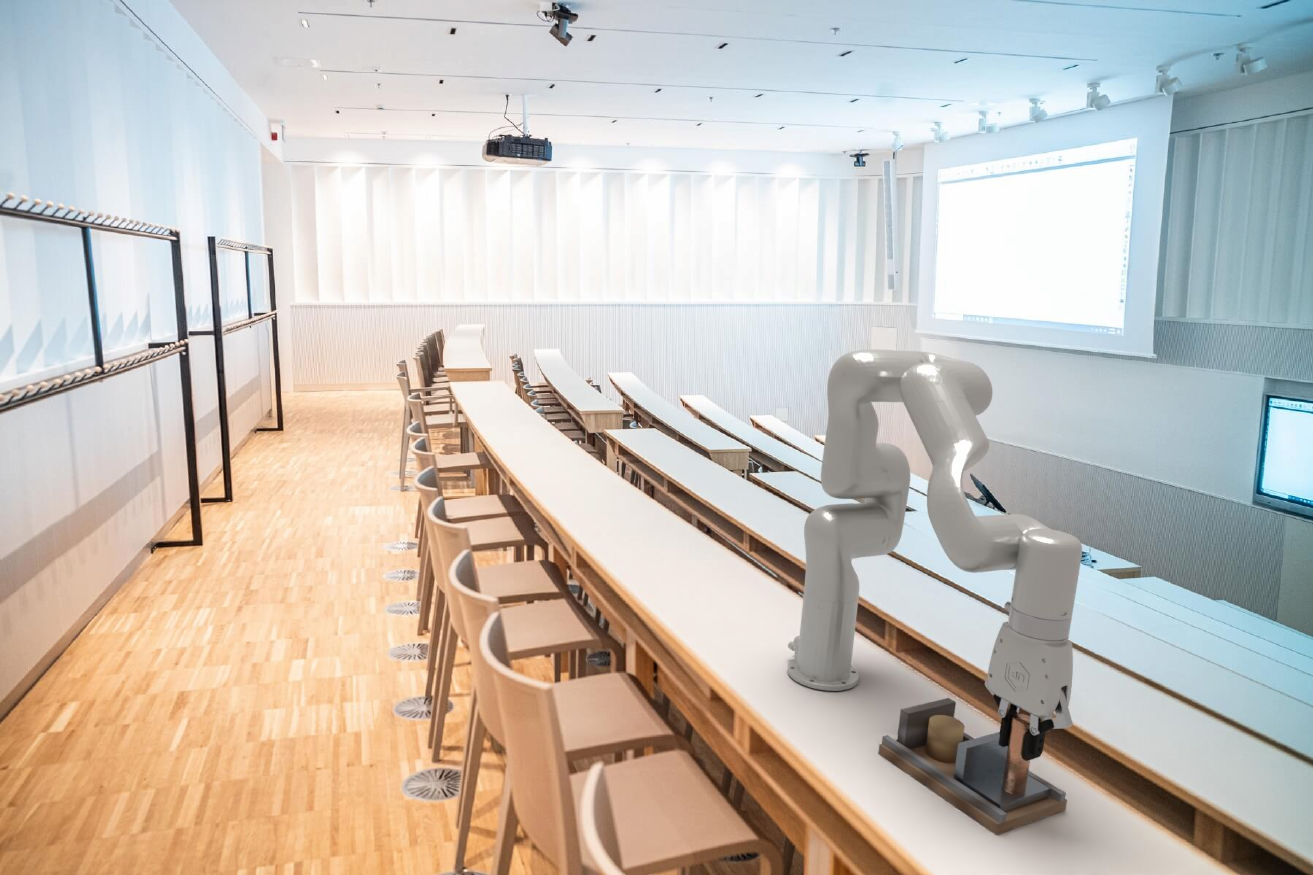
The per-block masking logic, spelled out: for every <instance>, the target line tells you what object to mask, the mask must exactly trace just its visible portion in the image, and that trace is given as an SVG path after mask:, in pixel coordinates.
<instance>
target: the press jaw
mask: <svg viewBox="0 0 1313 875" xmlns="http://www.w3.org/2000/svg"><path fill="white" fill-rule="evenodd" d="M1030 716H1031V715H1026V714H1024V713H1018V714H1014V715H1013V716H1012V722H1011V729H1010V736H1009V742H1008V746H1006V747H1002V746H1000V745H999V738H1000V731H998V732H993V733H990V734H987V735H983V736H980V737H976V738H975V737H974V738H975V739H972V740H968V741H964V742H961V743H958V750H957V757H956V765H955V772H954V779H955V780H957V781H958V782H960V783H961V784H963V785H964V786H966V787H967V788H969V789H970V790H972V791H974V792H975V793H977V794H978V795H980V796H981V797H983V798H984V799H986V800H987V801H989V802H990V803H992V804H993V805H995V806H996V807H998V808H999V809H1001V810H1002V811H1004V812H1005V811H1008V810H1011V809H1014V808H1017V807H1020V806H1023V805H1026V804H1029V803H1032V802H1034V801H1037V800H1040V799H1043V798H1046V797H1049V793H1050V788H1048V787H1047V786H1045V785H1043V784H1042V783H1040V782H1038V781H1037V780H1035V779H1033V778H1032V777H1030V776H1028V772H1029V771H1030V765H1031V760H1028V761H1025V760H1024V759H1022V750H1023V743H1024V737H1025V733H1026V732H1027V731H1030Z"/></svg>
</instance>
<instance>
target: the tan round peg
mask: <svg viewBox="0 0 1313 875" xmlns="http://www.w3.org/2000/svg"><path fill="white" fill-rule="evenodd" d="M964 733H965V724H964V723H963V722H962V721H961V720H960V719H958V718H956V717H954V718H953V717H950V716H946V715H934V716H932V717H930V719H929V726H928V734H927V741H926V749H925V752H926V754H927V755H928V756H929V757H930V758H932V759H934V760H936V761H939V762H944V763H955V762H956V757H957V750H958V743H961V742H963V735H964Z"/></svg>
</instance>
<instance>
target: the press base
mask: <svg viewBox="0 0 1313 875" xmlns="http://www.w3.org/2000/svg"><path fill="white" fill-rule="evenodd" d="M956 703H957V702H956V701H955V700H953V699H951V698H950V697H946V698H942V699H938V700H934V701H930V702H925V703H921V704H918V705H913V706H909V707H904V708H902V709H901V708H900V713H899V721H898V730H897V737H896V739H894V738H893V737H892V736H890V735H888V734H887V735H883V736H882V737H881V739H882V740H881V743H879V744H878V752H877V753H878V755H880V757H883V758H884V759H885V760H887V761H888V762H890V763H891V764H893V765H894V766H896V767H897V768H899V770H902V772H904V773H906V774H908V775H909V776H910V777H912V778H913V779H914V780H916V781H917V782H919V783H920V784H922V785H924V786H925V787H926V788H928V789H929V790H930V791H932V792H933V793H935V794H936V795H938V796H939V797H941V798H942V799H943V800H945V801H946V802H948V803H949V804H950V805H952V806H953V807H954V808H957V809H958V810H960V811H961V812H963V814H965V815H967V816H968V817H970V818H971V819H973V820H974V822H977V823H978V824H979V825H982V827H984V828H985V829H987V830H988V831H989V832H991V833H992V834H994V835H997V836H998V835H1000V834H1002V833H1005V832H1007V831H1011V830H1013V829H1017V828H1020V827H1021V826H1024V825H1027V824H1030V823H1033V822H1036V821H1038V820H1041V819H1045V818H1046V817H1049V816H1051V815H1055V814H1058V813H1061V812H1064V811H1066V808H1067V802H1068V800H1067V799H1066V796H1067V793H1066V792H1065V790H1062V789H1060V788H1059V787H1057V786H1055V785H1054V784H1052V783H1050V782H1049V781H1047V780H1045V779H1044V778H1042V777H1040V776H1039V775H1037V774H1035V773H1033V772H1032V771H1030V770H1029V772H1028V776H1030V777H1032V778H1033V779H1035V780H1037V781H1038V782H1040V783H1042V784H1043V785H1045V786H1047V787H1048V788H1050V793H1049V797H1046V798H1043V799H1040V800H1037V801H1034V802H1032V803H1029V804H1026V805H1023V806H1020V807H1017V808H1014V809H1011V810H1008V811H1005V812H1004V811H1002V810H1001V809H999V808H998V807H996V806H995V805H993V804H992V803H990V802H989V801H987V800H986V799H984V798H983V797H981V796H980V795H978V794H977V793H975V792H974V791H972V790H970V789H969V788H967V787H966V786H964V785H963V784H961V783H960V782H958V781H957V780H955V779H954V772H955V765H956V762H955V763H944V762H939V761H936V760H934V759H932V758H930V757H929V756H928V755H927V754H926V752H925V749H926V741H927V734H928V726H929V719H930V717H932V716H934V715H946V716H950V717H953V718H955V711H956V705H957V704H956ZM972 739H975V737H972V736H971V735H969V734H968V733H966V732H964V735H963V742H964V741H968V740H972Z"/></svg>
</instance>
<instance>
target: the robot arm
mask: <svg viewBox="0 0 1313 875" xmlns="http://www.w3.org/2000/svg"><path fill="white" fill-rule="evenodd" d="M826 389H827V390H826V393H827V394H826V395H827V408H828V409H827V410H828V412H827V414H828V415H827V416H828V417H827V425H826V431H825V438H824V446H823V447H824V448H823V454H822V462H821V468H820V469H821V470H820V483H821V487H822V489H823V491H824V492H825V493H826V494H827V495H828V496H829V497H832V498H834V499H838V500H839V499H840V500H852V499H853V500H858V499H865V502H861V503H860V502H858V503H856V502H855V503H853V502H851V503H850V502H849V503H835V504H828V505H824V506H819V507H817V508H816V509H814V510H812V511H811V512H810V513H809V515H808V516H807V517H806V519H805V523H804V526H803V529H804V530H803V537H804V545H805V546H804V547H805V548H804V549H805V576H804V578H805V579H804V586H803V587H804V588H803V598H802V607H801V608H802V609H801V619H800V629H799V635H797V636H795V638H794V639H793V641H789V642H788V644H787V648H789V649H790V650H791V651H793V652H794V658H793V659H791V660H790V661H789V662H788V664H787V670H786V671H787V674H788V675H789V677H790V678H791V679H792V680H794V681H795V682H796V683H798V684H800V685H802V686H805V687H808V688H812V689H815V690H820V691H827V692H828V691H829V692H830V691H831V692H841V691H846V690H849V689H852V688H854V687H855V686H857V685H858V684H859V677H860V675H859V672H858V671H857V669H856V668H855V667H853V665H852V660H853V650H854V644H855V642H854V641H855V633H856V632H855V631H856V625H857V615H858V607H859V606H858V605H859V597H860V580H859V576H858V574H857V572H856V570H855V568H854V566H853V564H852V560H853V559H854V560H855V559H860V558H867V557H868V558H869V557H877V556H879V557H880V556H884V555H887V554H890V553H892V552H893V551H894V550H895V549H896V548H897V547H898V545H899V543H900V541H901V538H902V534H903V528H904V525H905V524H904V523H905V517H906V512H907V510H906V509H907V505H908V499H909V498H908V497H909V493H910V492H909V491H910V484H911V468H910V463H909V460H908V458H907V456H906V454H905V453H904V452H903V450H902V449H901V448H900V447H898V446H896V444H892V443H885V442H879V443H878V442H877V439H878V438H877V437H878V432H879V427H880V426H879V418H878V415H877V412H876V410H875V407H874V404H873V403H903V405H904V407H905V409H906V411H907V414H908V415H909V418H910V420H911V422H912V424H913V426H914V428H915V431H916V432H917V434H918V436H919V439H920V441H921V443H922V445H923V448H924V450H925V452H926V453H927V456H928V457H929V459H930V462H931V464H932V470H931V473H930V476H929V480H928V483H927V490H926V507H927V515H928V518H929V521H930V524H931V527H932V529H933V531H934V533H935V535H936V538H937V541H938V542H939V544H940V546H941V547H942V549H943V551H944V553H945V554H946V556H947V558H948V559H949V560H950V562H952V564H953V565H954V566H956V567H957V568H958V569H960V570H962V571H963V572H967V573H975V574H976V573H985V572H986V573H987V572H993V571H995V572H996V571H1010V570H1011V571H1012V570H1013V571H1015V572H1014V580H1013V584H1012V594H1011V600H1010V601H1006V602H1005V604H1004V608H1003V609H1004V610H1005V611H1006V612H1008V614H1009V615H1008V621H1004V622H1003V623H1002V624H1001V626H1000V628H999V631H998V633H997V636H996V638H995V642H994V645H993V648H992V652H991V656H990V660H989V665H988V669H987V677H986V680H985V681H984V686H985V687H986V689H987V690H988V691H989V693H990V694H991V696H993V699H994V701H995V703H996V705H997V708H998V711H997V713H998V715H999V717H1000V718H1001V720H1000V728H999V732H1000V738H999V745H1000V746H1002V747H1006V746H1008V742H1009V736H1010V729H1011V722H1012V716H1013V715H1014V714H1019V712H1020V709H1021V710H1023V711H1025V712H1027V713H1028V714H1030V715H1029V716H1030V731H1027V732H1026V733H1025V737H1024V743H1023V750H1022V759H1024V760H1025V761H1028V760H1030V761H1031V760H1035V759H1038V758H1040V757H1041V756H1042V754H1043V752H1044V747H1045V738H1046V733H1047V732H1050V731H1053V730H1054V729H1056V730H1058V729H1067V728H1070V727H1072V726H1073V720H1072V716H1071V712H1070V710H1069V705H1070V700H1071V697H1072V696H1071V694H1072V685H1073V672H1074V671H1073V670H1074V658H1073V657H1074V656H1073V643H1072V641H1071V640H1070V639H1069V637H1070V633H1071V632H1070V630H1071V625H1072V620H1073V618H1072V617H1073V612H1074V607H1075V600H1076V592H1077V588H1078V580H1079V574H1080V568H1081V563H1082V556H1083V546H1082V543H1081V540H1079V538H1077V537H1076V536H1075V535H1073V534H1070V533H1068V532H1064V531H1062V530H1056V529H1052V528H1050V527H1048V526H1046V525H1045V524H1043V523H1042V522H1040V521H1038V520H1037V519H1035V518H1034V517H1032V516H1029V515H1026V514H1019V513H1012V514H1011V513H1009V514H993V515H979V516H978V515H977V516H976V514H975V513H974V511H973V508H971V505H970V504H969V501H968V499H967V496H966V494H965V490H964V487H963V477H964V476H963V475H964V472H965V471H967V470H969V469H971V468H972V467H974V466H975V465H976V464H978V463H979V462H981V460H982V459H983V458H985V456H986V455H987V454H988V452H989V448H990V442H989V439H988V436H987V435H986V433H985V432H984V429H983V427H982V426H981V424H980V422H979V420H978V418H977V416H980V415H981V414H983V413H984V412H986V410H988V408H989V406H990V405H991V403H992V400H993V385H992V382H991V380H990V377H989V376H988V374H987V373H986V372H985V370H984V369H983V368H982V367H980V366H979V365H977V364H975V363H973V362H970V361H965V360H962V359H956V358H952V357H949V356H946V355H945V356H944V355H941V354H936V353H932V352H927V351H917V350H892V349H860V350H855V351H850V352H846V353H844V354H843V355H841V356H840V357H839V358H838V359H837V360H836V361H835V362H834V364H833V365H832V367H831V368H830V372H829V374H828V379H827V388H826ZM1054 713H1055V717H1053V715H1054Z"/></svg>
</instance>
